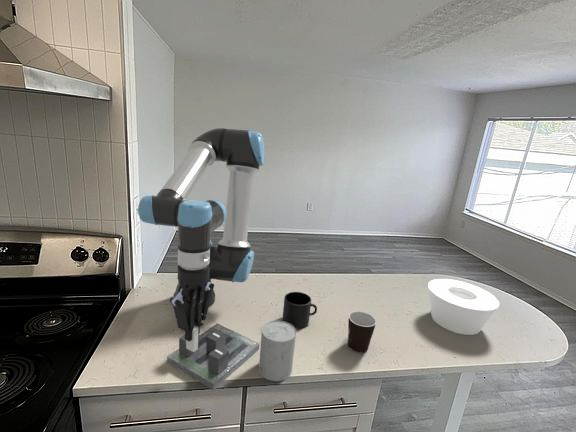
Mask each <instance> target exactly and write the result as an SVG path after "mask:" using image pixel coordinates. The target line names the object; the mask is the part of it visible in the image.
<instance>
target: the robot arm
mask: <svg viewBox="0 0 576 432" xmlns="http://www.w3.org/2000/svg"><path fill="white" fill-rule="evenodd" d="M187 152H188V153H187V154H186V155H185V157H184V158H183V159H182V161H181V162H180V164H178V166H177V168H176V169H175V170H174V172H172V174H171V176H170V177H169V179H168V180H167V181H166V182H165V184H164V185H163V186H162V187H161V189H160V190H159V191H158V193H157V194H156V195H154V194H153V195H152V194H151V195H145V196H143V197H141V198H140V200H139V203H138V205H137V214H138V216H139V220H140V221H141V222H143V223H146V224H149V225H150V224H151V225H155V226H167V227H175V228H176V227H177V281H178V282H177V285H176V288H175V291H174V293H173V295H172V297H170V298H169V303H170V304H171V305H172V307H173V308H172V309H173V312H174V316H175V321H176V325H177V329H179V330H182V331H183V332H184V335H185V340H186V348H187V349H188V350H190V351H192V352H195V351H196V350H198V336H199V335H200V334H201V332H200V330H201V329H200V328H202V327H203V326H204V323H203V322H205V321H206V319H207V318H208V317H207V316H208V311H209V308H210V307H212V306H213V305H214V304H215V302H216V293H215V290H214V288H215V284H214V283H212V280H219V281H225V282H232V283H244V282H246V281H247V280H248V278H249V276H250V274H251V272H252V267H253V263H254V259H255V251H254V250H252V249H251V244H250V243H249V242H248V233H249V225H250V224H249V223H250V216H251V215H250V214H251V206H252V196H253V187H254V179H255V178H254V177H255V175H256V173H258V172H259V170H260V166H261V167H262V166H264V164H265V159H266V158H265V157H266V156H265V153H266V150H265V140H264V137H263V135H262V133H261V132H259V131H253V130H247V129H246V130H245V129H235V128H234V129H233V128H225V127H223V128H222V127H219V128H218V127H217V128H213V129H210V130H207V131H205V132H203V133H201V134H200V135H199V136H197V137H196V138H195V139H193V141H191V144H189V146H188V149H187ZM215 162H225V163H226V164H225V167H226V168H227V169H228V171H229V178H228V187H227V198H226V206H225V205H224V203H222V202H221V201H219V200H218V199H207V200H201V199H200V200H199V199H198V200H197V199H189V198H190V196H191V195H192V192H193V191H194V189H195V188H196V186H197V184H198V183H199V182H200V181H201V178H202V176H203V175H204V173H205V172H206V170H207V169H208V167H209V166H211V165H213V164H214V163H215ZM223 223H224V224H223ZM222 225H224V226H223V235H222V239H220V240H219V241H218V242H217V246H213V242H212V241H211V239H212V234H213V232H215V230H217V229H218V228H220V227H221V226H222Z"/></svg>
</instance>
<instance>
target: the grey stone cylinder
mask: <svg viewBox="0 0 576 432" xmlns="http://www.w3.org/2000/svg"><path fill="white" fill-rule="evenodd" d="M296 329H297V328H295V327H294V326H293V325H291V324H289V323H287V322H284V321H283V320H271V321H268V322H265V324H263V326H262V327H261V335H260V337H261V338H260V347H259V350H260V351H259V361H258V362H259V364H258V371H259V374H260V375H261V376H262V377H263V378H264V379H266V380H268V381H272V382H281V381H285V380H286V379H288V378H289V377H290V376H291V375H292V373H293V364H294V356H295V347H296V340H297V339H296V337H297V330H296Z"/></svg>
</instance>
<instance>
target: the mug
mask: <svg viewBox="0 0 576 432" xmlns="http://www.w3.org/2000/svg"><path fill="white" fill-rule="evenodd" d="M283 300H284V301H283V309H282V310H283V311H282V318H281V319H282V320H281V321H284V322H287V323H289V324H291V325H293V326H294V327H295V329H304V328H306V327H307V326H308V324H309V322H310V317H312V316H314V315H316V313H317V312H318V307H317V305H316V304H315V303H312V298H311V296H310V295H309V294H307V293H305V292H300V291H291V292H288V293H286V294H285V295H284V299H283ZM311 307H313V308H314V310H313V312H311Z"/></svg>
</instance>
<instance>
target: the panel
mask: <svg viewBox="0 0 576 432" xmlns="http://www.w3.org/2000/svg"><path fill="white" fill-rule="evenodd" d="M216 330H218V331H220V332H222V333H224V334H226V335H225V348H224V349H226V350H228V351H229V358H228V366H227V367H226V368H224V369H223V370H222V371H221V372H220V373H219V374H217V373H215V372H214V371H212V370H210V369H208V355H209V353H210V352H209V351H207V350H206V341H207V336H208V335H210V334H211V333H213V332H214V331H216ZM260 345H261V342H260V343H259V342H257V341H255V340H254V339H252V338H249V337H247V336H245V335H243V334H241V333H239V332H236V331H234V330H232V329H230V328H228V327H227V326H224V325H222V324H219V323H215V324H214V325H212V326H211V327H209V328H207V329H206V330H205V331H203V332H202V333H200V334H199V349H198V350H197V351H195V352H194V353H193V354H191V355H190V356H188V357H187V356H186V355H184V354H182V353H180V352H179V348H178V349H176V350H175V351H173V352H172V353H170V354H169V355H167V357H166V358H167V359H166V361H167V363H168V364H169V365H171V366H172V367H174V368H176V369H178V370H179V371H181V372H182V373H184V374H185V375H188V376H189V377H190V378H193V380H195V381H197V382H199V383H200V384H202V385H204V386H206V388H209V389H210V390H212V391H214V390H215V389H217V388H218V386H220V385H221V384H222V383H223V382H224V381H225V380H227V379H228V378H229V377H230V376H231V375H232V374H234V373H235V372H236V371H237V370H238V369H239V368H240V367H242V365H243V364H244V363H245V362H246V361H248V360H249V359H250V358H251V357H252V356H254V354H256V353H257V352H258V351H259V350H260Z"/></svg>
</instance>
